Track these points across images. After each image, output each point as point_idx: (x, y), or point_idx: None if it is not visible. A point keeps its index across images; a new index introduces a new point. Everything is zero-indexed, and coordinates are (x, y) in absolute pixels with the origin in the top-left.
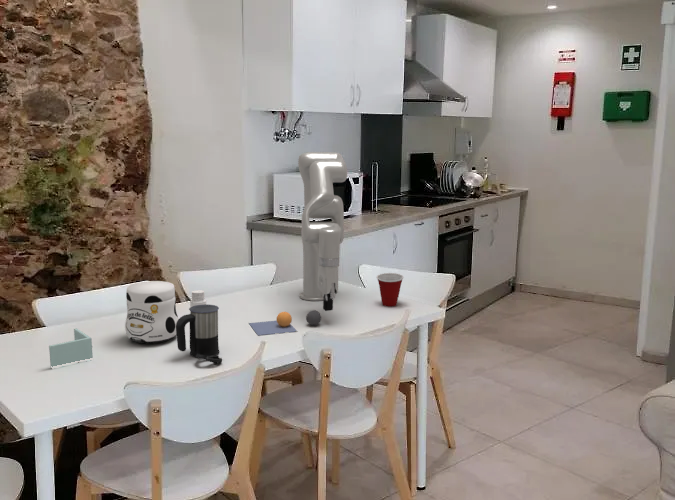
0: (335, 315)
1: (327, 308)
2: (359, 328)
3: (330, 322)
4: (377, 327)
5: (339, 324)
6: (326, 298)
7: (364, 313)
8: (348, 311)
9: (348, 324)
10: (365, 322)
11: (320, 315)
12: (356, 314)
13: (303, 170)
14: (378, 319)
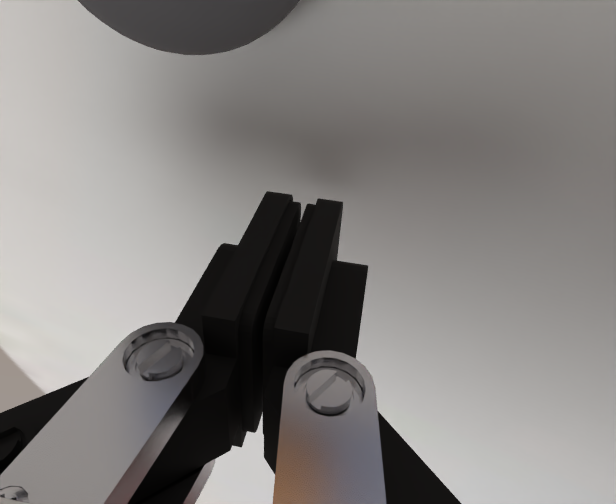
0: (483, 318)
1: (228, 244)
2: (45, 306)
3: (274, 174)
4: None
5: (181, 223)
6: (93, 373)
7: None
8: (521, 438)
9: (165, 287)
10: None
11: (115, 29)
12: (408, 440)
13: None
14: (234, 471)
